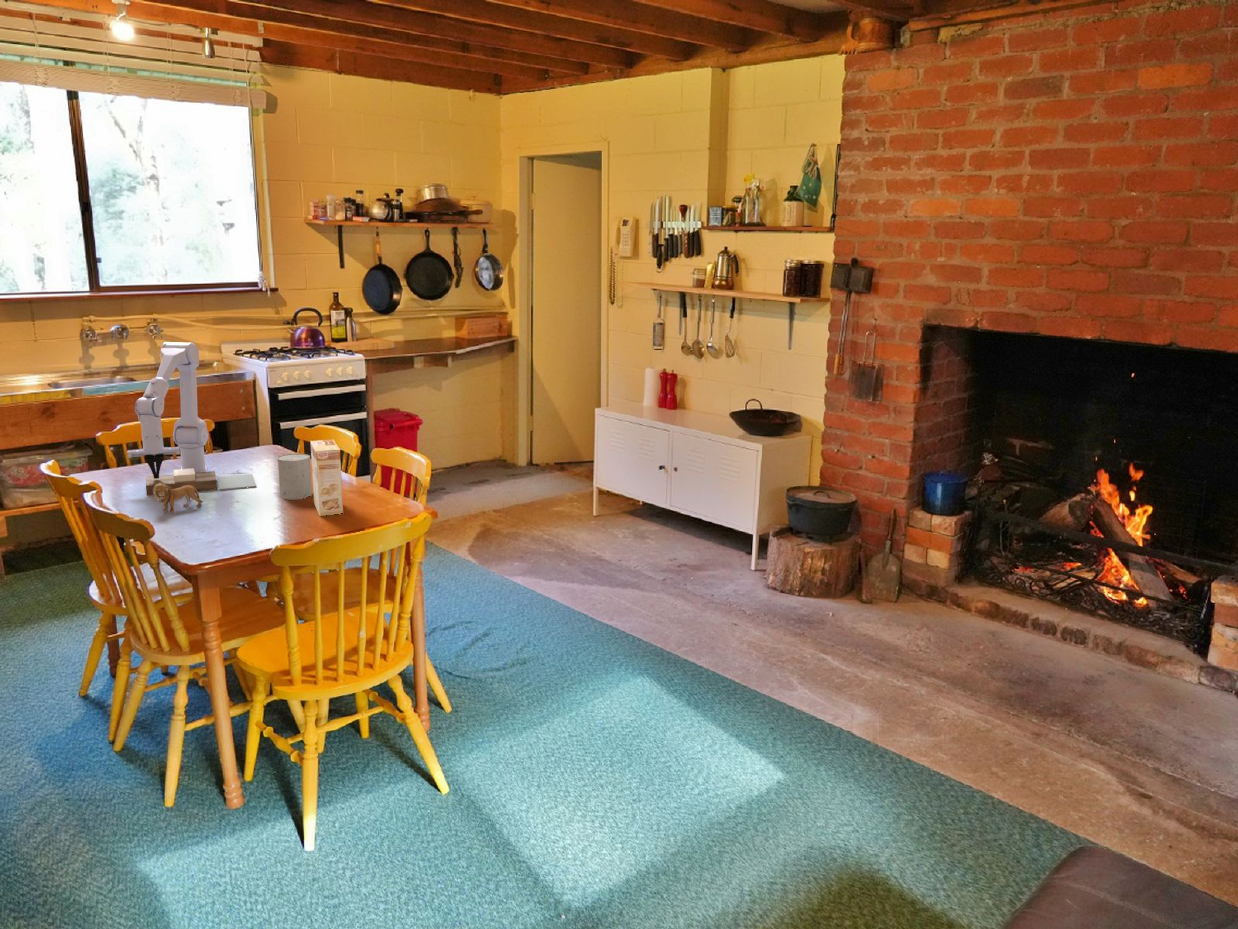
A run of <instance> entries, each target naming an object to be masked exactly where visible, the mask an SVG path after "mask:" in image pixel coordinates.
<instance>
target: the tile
mask: <svg viewBox="0 0 1238 929" xmlns="http://www.w3.org/2000/svg"><path fill="white" fill-rule="evenodd" d="M173 474H174V482H181V481H192V480H195V471H194V468H191V469H181V468H180V469H173Z"/></svg>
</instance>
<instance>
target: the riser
mask: <svg viewBox="0 0 1238 929" xmlns="http://www.w3.org/2000/svg"><path fill="white" fill-rule="evenodd" d="M145 479H146V480H145V488H146V489H145V490H146V496H154V494H153V488H154V486H155V485H156V484H160V483H162V484H165V485H168V486H170V487H172V488H175V489H176V488H180V487H183V486H186V485H191V486H193V487H195V488H196V490H202V491H211V490H212V489H213V490H218V482H217V476H216V471H215V470H212V471H207V472H198V473H195V480H192V481H181V482H174V473H173V474H165V475H164V474H163V475H159V478H158V479H154V476H153V475H151V476H146V478H145Z"/></svg>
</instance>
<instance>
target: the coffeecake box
mask: <svg viewBox="0 0 1238 929" xmlns="http://www.w3.org/2000/svg"><path fill="white" fill-rule="evenodd" d="M310 452H311V453H310V461H311V474H312V475H311V478H312V492H313V493H312V496H313V503H314V506H315V509H316V512H317V514H318V516H319V517H327V516H335V515H334V514H338V513H339V515H341V514H340V513H343V514H344V507H343V505H344V504H343V486H342V485H343V484H342V465H341V449H340V447H339V446H338V444H337V443H336V441H335V439H320V440H310ZM326 515H327V516H326Z"/></svg>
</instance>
